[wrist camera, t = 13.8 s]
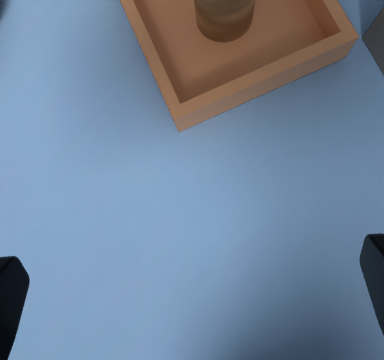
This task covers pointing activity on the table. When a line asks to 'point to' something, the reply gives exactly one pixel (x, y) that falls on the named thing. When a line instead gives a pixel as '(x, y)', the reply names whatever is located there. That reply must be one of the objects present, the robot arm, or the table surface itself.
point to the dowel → (224, 18)
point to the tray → (235, 52)
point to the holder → (376, 39)
